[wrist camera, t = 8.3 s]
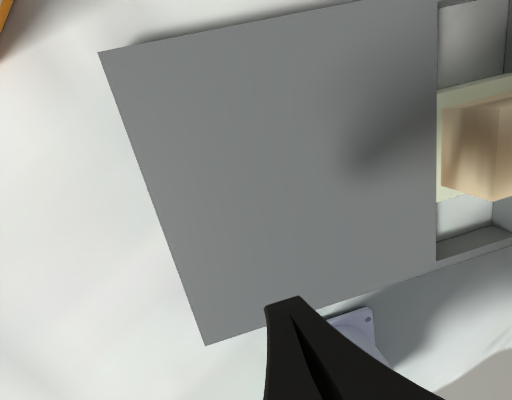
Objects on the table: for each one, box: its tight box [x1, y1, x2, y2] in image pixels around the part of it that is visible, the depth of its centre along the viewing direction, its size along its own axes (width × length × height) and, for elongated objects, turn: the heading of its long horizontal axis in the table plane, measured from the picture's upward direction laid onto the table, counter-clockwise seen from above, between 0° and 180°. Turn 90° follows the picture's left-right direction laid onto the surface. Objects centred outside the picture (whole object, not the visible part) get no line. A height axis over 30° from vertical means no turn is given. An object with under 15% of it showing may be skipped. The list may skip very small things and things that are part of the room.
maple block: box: [441, 91, 512, 202], centre depth 16 cm, size 5×6×4 cm
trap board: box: [98, 0, 512, 346], centre depth 17 cm, size 18×26×4 cm
